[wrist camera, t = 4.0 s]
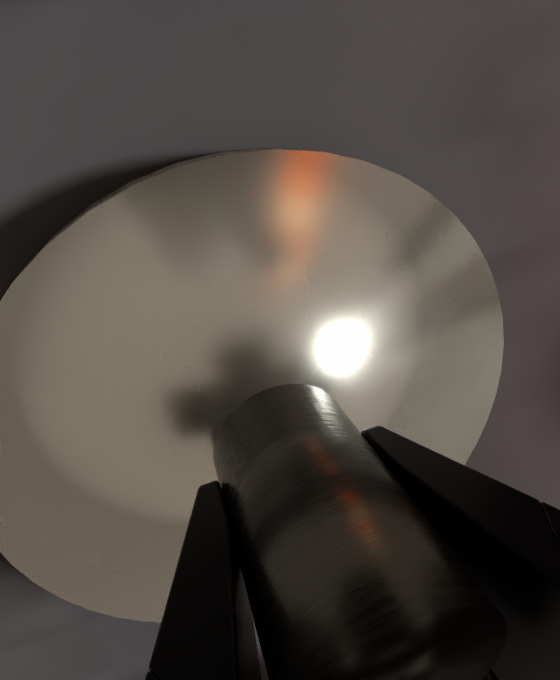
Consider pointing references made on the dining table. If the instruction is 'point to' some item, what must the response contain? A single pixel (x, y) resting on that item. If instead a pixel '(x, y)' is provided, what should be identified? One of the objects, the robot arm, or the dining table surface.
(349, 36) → the dining table surface
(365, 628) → the lid
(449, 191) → the dining table surface
